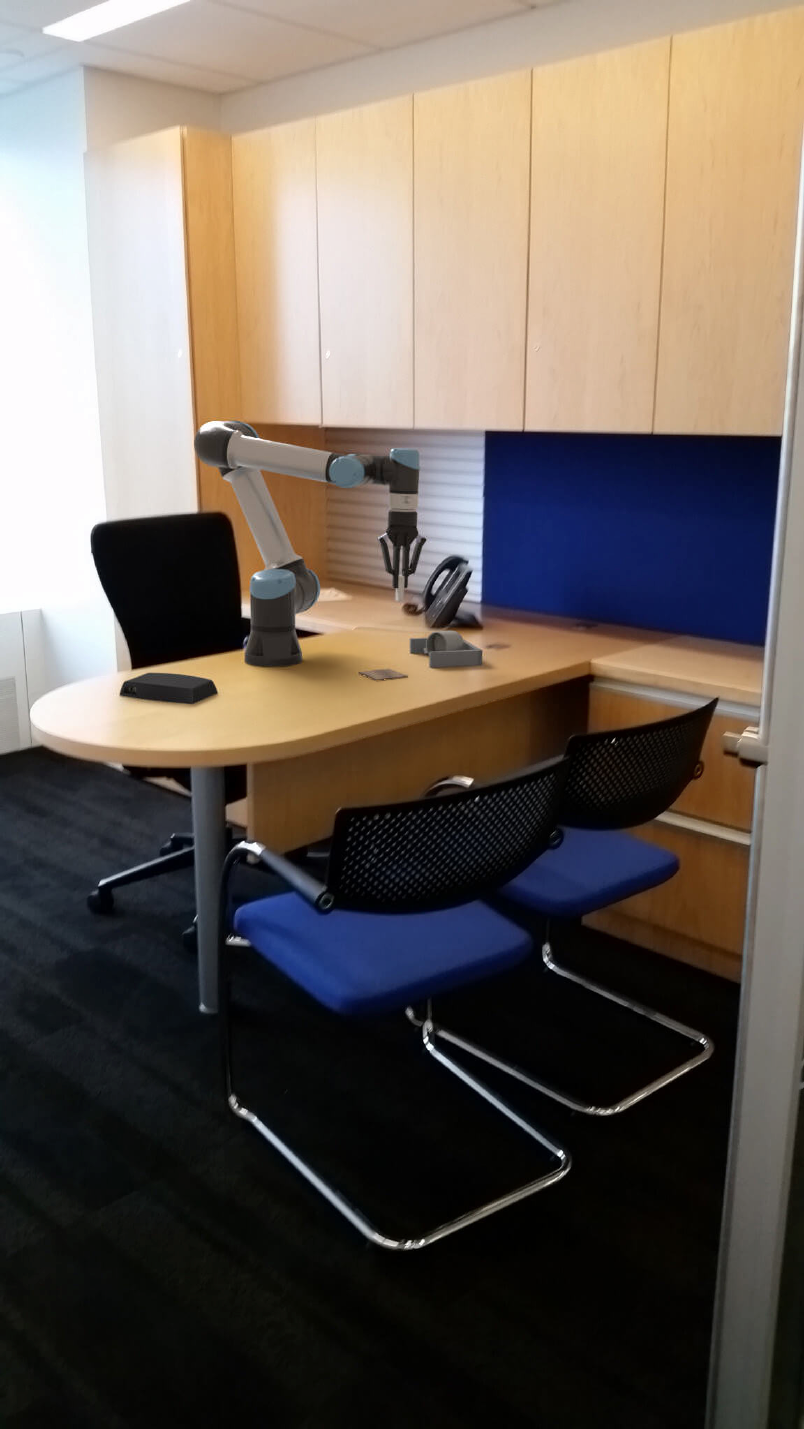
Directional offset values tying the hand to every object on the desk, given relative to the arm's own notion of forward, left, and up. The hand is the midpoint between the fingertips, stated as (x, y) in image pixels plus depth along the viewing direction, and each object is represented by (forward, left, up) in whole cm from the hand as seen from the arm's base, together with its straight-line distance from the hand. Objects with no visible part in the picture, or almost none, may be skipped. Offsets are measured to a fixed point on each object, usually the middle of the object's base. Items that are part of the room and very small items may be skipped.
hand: (399, 600), depth 301 cm
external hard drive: (-62, -25, -17) cm, 69 cm away
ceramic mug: (+13, +2, -17) cm, 21 cm away
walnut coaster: (-9, -16, -17) cm, 25 cm away
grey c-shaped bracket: (+12, 0, -16) cm, 20 cm away
